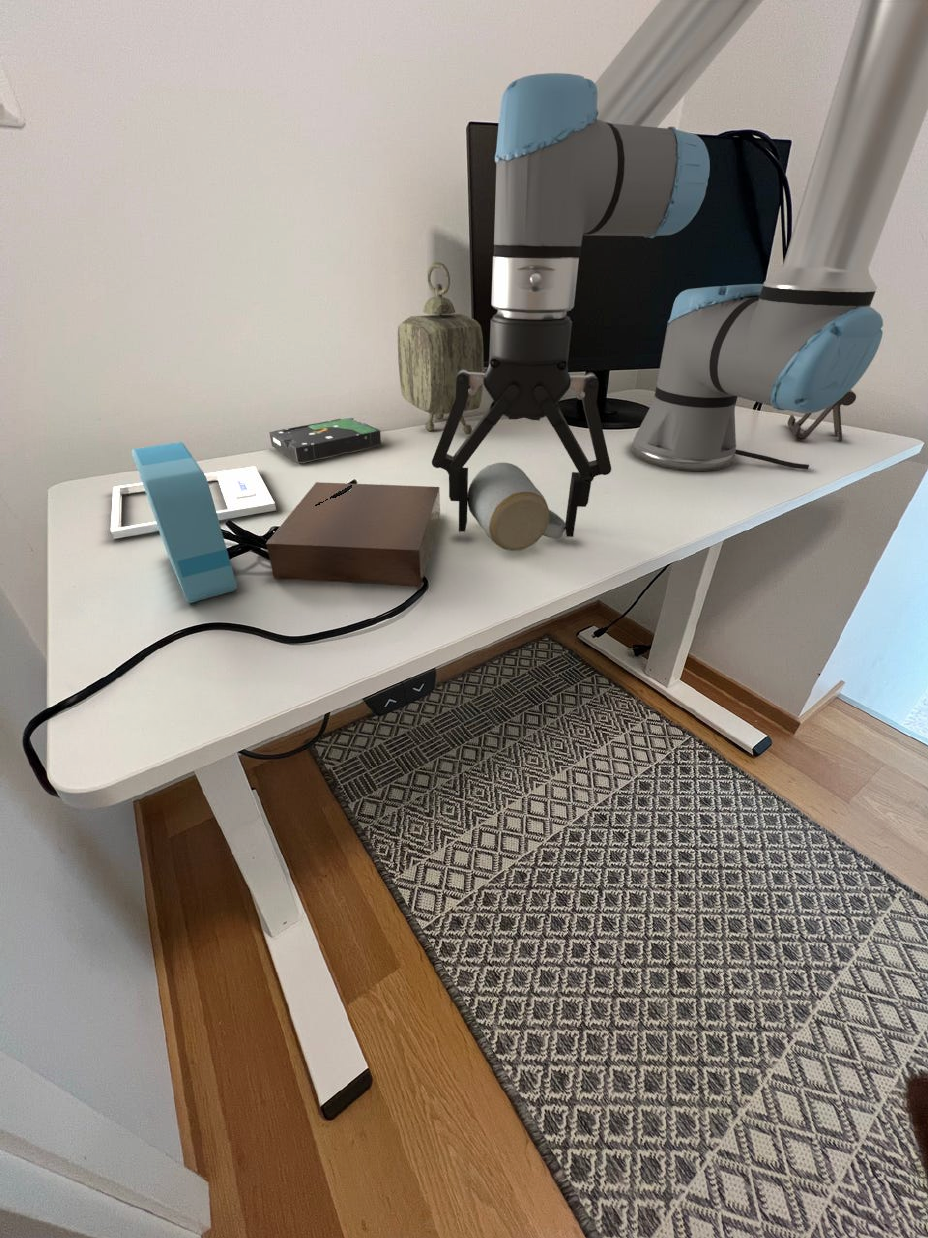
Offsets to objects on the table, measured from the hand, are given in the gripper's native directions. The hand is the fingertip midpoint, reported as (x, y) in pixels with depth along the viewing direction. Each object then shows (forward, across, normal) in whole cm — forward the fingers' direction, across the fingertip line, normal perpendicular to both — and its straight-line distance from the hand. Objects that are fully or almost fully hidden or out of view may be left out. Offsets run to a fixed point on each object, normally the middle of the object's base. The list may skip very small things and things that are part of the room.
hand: (515, 529), depth 62 cm
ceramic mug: (+1, 0, 0) cm, 1 cm away
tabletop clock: (+1, -14, +41) cm, 43 cm away
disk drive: (+1, -31, +29) cm, 42 cm away
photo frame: (+1, -41, +6) cm, 42 cm away
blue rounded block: (+1, -32, -12) cm, 34 cm away
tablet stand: (+1, +52, +44) cm, 68 cm away
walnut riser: (+1, -17, -4) cm, 17 cm away
